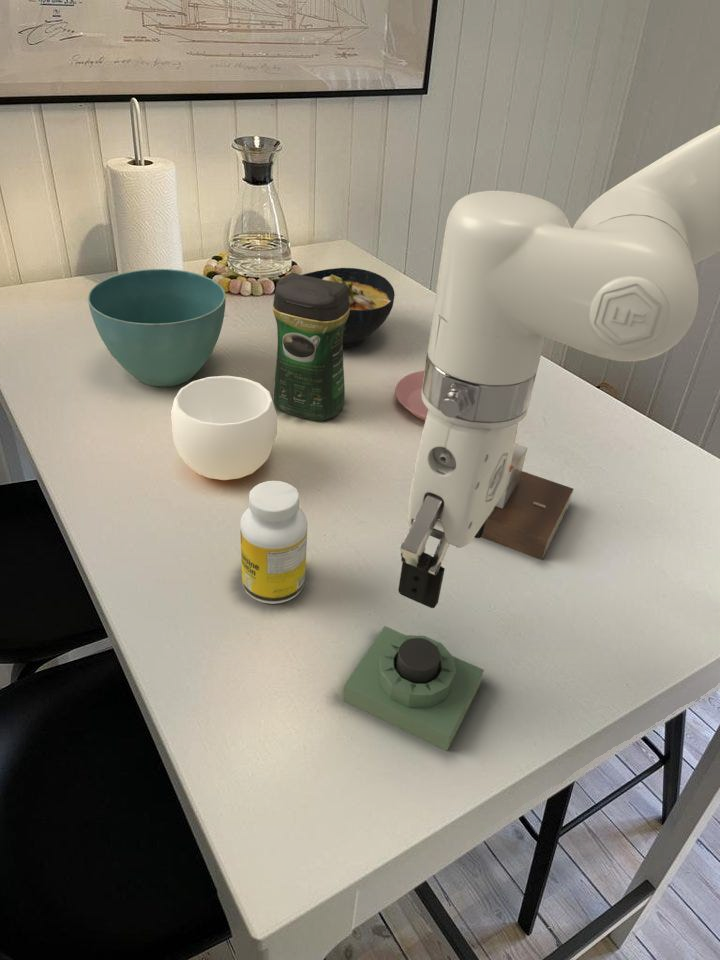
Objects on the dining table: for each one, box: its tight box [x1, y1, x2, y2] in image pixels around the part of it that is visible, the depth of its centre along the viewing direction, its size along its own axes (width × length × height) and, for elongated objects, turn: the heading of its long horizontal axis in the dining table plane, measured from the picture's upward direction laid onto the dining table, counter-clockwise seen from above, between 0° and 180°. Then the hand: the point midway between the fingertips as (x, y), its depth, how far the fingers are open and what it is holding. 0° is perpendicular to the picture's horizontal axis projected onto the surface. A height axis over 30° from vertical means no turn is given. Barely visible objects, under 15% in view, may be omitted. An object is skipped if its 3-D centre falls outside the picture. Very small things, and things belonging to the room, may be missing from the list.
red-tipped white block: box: [495, 443, 528, 508], centre depth 86 cm, size 6×2×5 cm, turn 152°
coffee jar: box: [272, 271, 350, 422], centre depth 100 cm, size 10×8×19 cm
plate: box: [394, 370, 429, 422], centre depth 108 cm, size 14×14×2 cm
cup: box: [170, 375, 278, 481], centre depth 90 cm, size 12×12×10 cm
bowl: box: [302, 267, 396, 350], centre depth 120 cm, size 17×17×10 cm
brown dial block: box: [437, 470, 574, 561], centre depth 88 cm, size 14×11×3 cm
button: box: [397, 638, 440, 683], centre depth 65 cm, size 4×4×2 cm
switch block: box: [342, 625, 484, 752], centre depth 66 cm, size 10×8×4 cm
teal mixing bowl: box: [87, 268, 227, 388], centre depth 106 cm, size 18×18×12 cm
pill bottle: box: [239, 480, 308, 605], centre depth 74 cm, size 6×6×12 cm
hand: (442, 563), depth 62 cm, fingers open, 9 cm apart
